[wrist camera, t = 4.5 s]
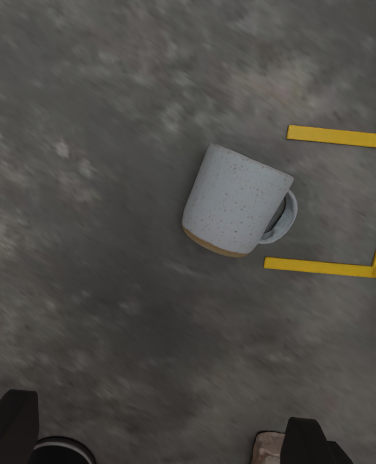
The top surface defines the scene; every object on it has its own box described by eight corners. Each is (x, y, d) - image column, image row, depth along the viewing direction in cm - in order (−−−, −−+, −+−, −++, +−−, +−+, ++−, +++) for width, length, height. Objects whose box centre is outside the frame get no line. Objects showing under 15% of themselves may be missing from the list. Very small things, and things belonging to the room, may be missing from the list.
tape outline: (263, 266, 31) (263, 267, 30) (288, 125, 27) (289, 124, 27) (379, 277, 31) (380, 278, 31) (420, 138, 27) (423, 138, 27)
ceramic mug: (177, 219, 29) (174, 243, 22) (207, 141, 27) (215, 138, 20) (270, 254, 30) (298, 287, 23) (306, 181, 28) (348, 192, 21)
